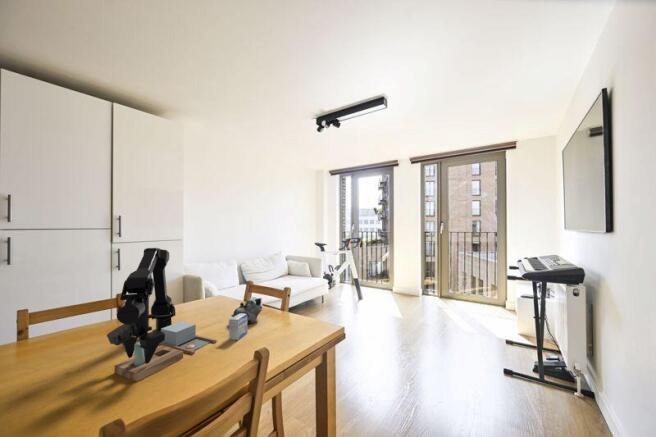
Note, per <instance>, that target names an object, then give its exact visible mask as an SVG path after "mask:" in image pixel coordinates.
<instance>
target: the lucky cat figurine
mask: <svg viewBox="0 0 656 437" xmlns="http://www.w3.org/2000/svg"><path fill="white" fill-rule="evenodd" d="M262 300H263V298H261V297H257V296H256V297H255V296H254V297H250V298H248V299H247V301H246V302H245V304H244V302H243V301H242V302H240V305H239V307H237V308H235V309H234V311H233V314H231V315H230V316H231V318H233V317H234V316H236V315H237V314H240V313H242V314H247V324H249V325H252V324H254V323H256V322H257V320H258V316H259V314H260V313H261V312H262V311H263V301H262Z"/></svg>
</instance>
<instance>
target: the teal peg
mask: <svg viewBox="0 0 656 437" xmlns="http://www.w3.org/2000/svg"><path fill="white" fill-rule="evenodd" d="M139 346H141V345H140V343H139V341H138V342H137V341H136V343H135V344H134V353H133V357H134V367H135V368H137V367H139V366H141V365H143V364H145V357H144V349H143V348H141V347H139Z"/></svg>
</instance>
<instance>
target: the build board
mask: <svg viewBox="0 0 656 437" xmlns="http://www.w3.org/2000/svg"><path fill="white" fill-rule="evenodd" d="M182 359H184V352H183V351H181V350H177V349H173V348H170V347H166V346H163V345H161V346H160V345H158V347H157V349H156V351H155V352H154V354H153V356H152V358H151V360H150V362H149V363H147V364H146V363H145V364H143V365H141V366H139V367H137V368H135V367H134V356H132V357H131V358H128V359H126V360H124V361H121V362H119V363H117V364H115V365H114V369H113V370H114V374H116V375H119V376H121V377H124V378H127V379H129V380H132V381H134V382H140V381H142V380H144V379H145V378H147V377H148V376H151V375H153V374H154V373H156V372H158V371H160V370H163V369H164V368H167V367H169V366H171V365H172V364H174V363H177V362H179V361H181V360H182Z"/></svg>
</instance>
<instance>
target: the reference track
mask: <svg viewBox="0 0 656 437" xmlns="http://www.w3.org/2000/svg"><path fill="white" fill-rule="evenodd" d="M210 343H214V344H216V343H217V339H215V338H210V337H206V336H202V335H197V334H196V337H195V338H194V339H192V340H189V341H187V342H185V343H183V344H181V345H178V346H175V345H171V344H167V343H163V342H161V343H160V344H159V345H158V346H161V345H163V346H166V347H170V348H173V349H177V350H181V351H183V353H186V354H190V355H195V354H196V351H198V350H199V349H201V348H203V347H205V346H207V345H209V344H210Z"/></svg>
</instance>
